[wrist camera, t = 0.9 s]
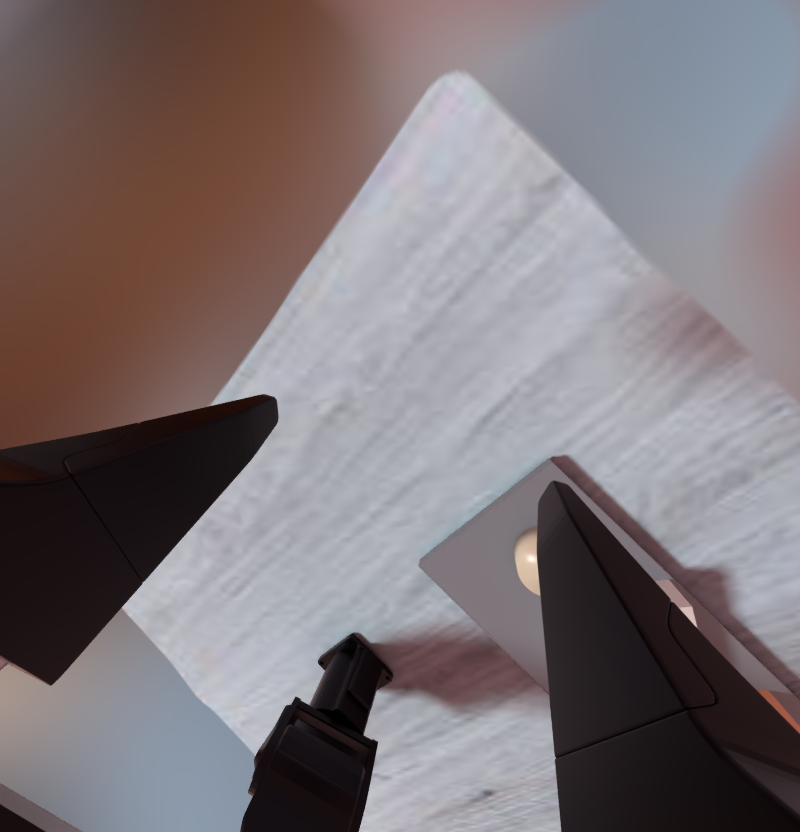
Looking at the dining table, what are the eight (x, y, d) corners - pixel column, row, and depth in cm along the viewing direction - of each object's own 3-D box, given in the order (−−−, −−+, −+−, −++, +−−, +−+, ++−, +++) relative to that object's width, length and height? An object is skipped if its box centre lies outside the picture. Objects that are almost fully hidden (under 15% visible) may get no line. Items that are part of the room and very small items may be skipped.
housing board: (636, 771, 27) (658, 829, 24) (420, 558, 28) (413, 587, 25) (812, 712, 23) (871, 774, 19) (549, 458, 23) (562, 476, 20)
